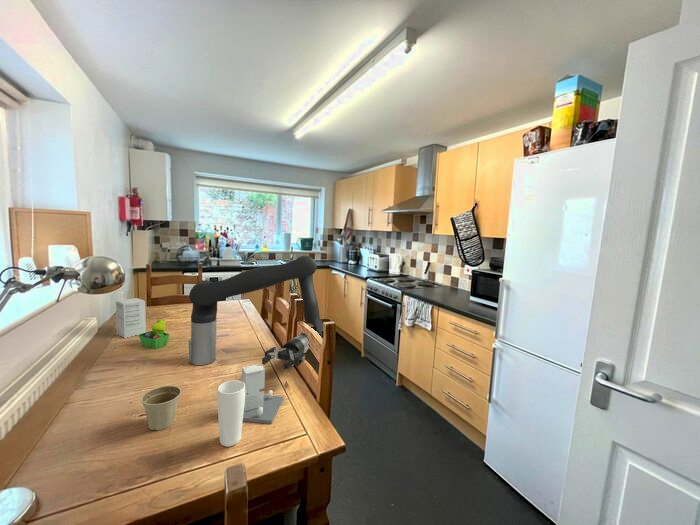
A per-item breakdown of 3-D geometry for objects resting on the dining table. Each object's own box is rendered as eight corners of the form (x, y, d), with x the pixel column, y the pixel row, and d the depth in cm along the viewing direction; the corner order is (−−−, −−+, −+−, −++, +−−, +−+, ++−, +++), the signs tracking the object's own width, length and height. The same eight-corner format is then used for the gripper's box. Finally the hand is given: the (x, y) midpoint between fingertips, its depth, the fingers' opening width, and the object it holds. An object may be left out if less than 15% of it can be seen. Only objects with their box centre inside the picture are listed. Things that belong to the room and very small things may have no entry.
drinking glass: (222, 431, 78) (222, 379, 77) (247, 431, 79) (248, 380, 77) (212, 450, 72) (213, 393, 70) (240, 449, 72) (241, 394, 71)
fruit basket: (137, 345, 128) (136, 321, 127) (156, 339, 137) (156, 316, 135) (154, 351, 124) (153, 325, 123) (173, 344, 132) (173, 320, 131)
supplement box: (146, 333, 143) (146, 300, 141) (124, 338, 135) (123, 304, 133) (138, 329, 148) (137, 297, 146) (116, 333, 140) (115, 300, 138)
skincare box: (244, 412, 85) (244, 373, 84) (240, 404, 89) (241, 367, 88) (264, 406, 89) (265, 369, 88) (259, 398, 92) (260, 363, 91)
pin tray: (217, 418, 83) (218, 407, 83) (236, 395, 95) (236, 385, 95) (271, 423, 82) (272, 412, 82) (283, 399, 94) (283, 389, 94)
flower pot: (189, 417, 83) (189, 389, 82) (158, 439, 74) (158, 408, 73) (165, 409, 86) (165, 382, 85) (132, 429, 77) (132, 399, 76)
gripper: (281, 335, 115) (256, 350, 100) (313, 341, 111) (292, 358, 96) (280, 353, 116) (255, 370, 101) (312, 359, 112) (291, 379, 97)
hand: (273, 364), depth 98 cm, fingers open, 8 cm apart
